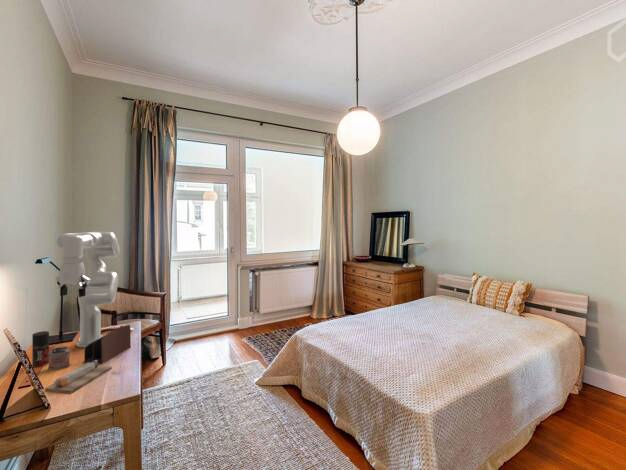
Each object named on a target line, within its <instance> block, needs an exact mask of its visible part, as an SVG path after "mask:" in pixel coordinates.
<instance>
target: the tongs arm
mask: <svg viewBox="0 0 626 470" xmlns="http://www.w3.org/2000/svg"><path fill="white" fill-rule="evenodd" d="M94 369H95V362H92V363H90V364H88V365H86V366H85V367H83V368H81V369H79V370H77V371H75V372H73V373H71V374H70V375H68V376H66V377H64V378H62V379H60V387H64V386H66V385H67V384H69V383H71V382H72V381H74V380H76V379H78V378H80V377H81V376H83V375H85V374H87V373H88V372H90V371H92V370H94Z"/></svg>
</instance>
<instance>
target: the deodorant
mask: <svg viewBox="0 0 626 470" xmlns="http://www.w3.org/2000/svg"><path fill="white" fill-rule="evenodd" d="M31 336H32V344H31V345H32V356H31V357H32V367H33V366H34V368H40V367H43V366H47V365H49V355H48V353H49V352H50V331H45V330H44V331H37V332H35V333H33V334H32V335H31Z"/></svg>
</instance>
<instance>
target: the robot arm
mask: <svg viewBox="0 0 626 470" xmlns="http://www.w3.org/2000/svg"><path fill="white" fill-rule="evenodd" d="M118 241H119V240H118V238H117V236H116V234H115V233H114V232H112V231H88V232H87V231H86V232H75V233H74V232H72V233H70V232H69V233H61V234H60V235H59V236H57V239H56V244H57V246H58V248H60V249H62V259H61V260H62V263H61V265H60V268H59V275H58V276H57V277H55V281H56V284H57V285H58V288H59V289H60V290H59V295H60V297H64V296H67V295H68V286H78V294H77V300H78V304H79V305H78V306H79V341H76V347H77V348H85V347H86V346H87V345H89V344H90V343H92V342H94V341H95V340H97V339H99V338H101V336H102V335H101V333H102V311H101V309H100V307H99V305H109V304H112V303H114V302H115V300H116V296H117V292H118V286H119V279H120V278H119V275H118V273H117V272H116V271H107V264H106V263H105V262H104V261H103V260H102V259H110V258H112V259H114V258H117V257H119V255H120V254H121V248H120V246H119V242H118ZM84 250H85V255H86V258H87V262H88V266H89V267H88V271H87V275H86V269H85V264H84Z"/></svg>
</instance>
